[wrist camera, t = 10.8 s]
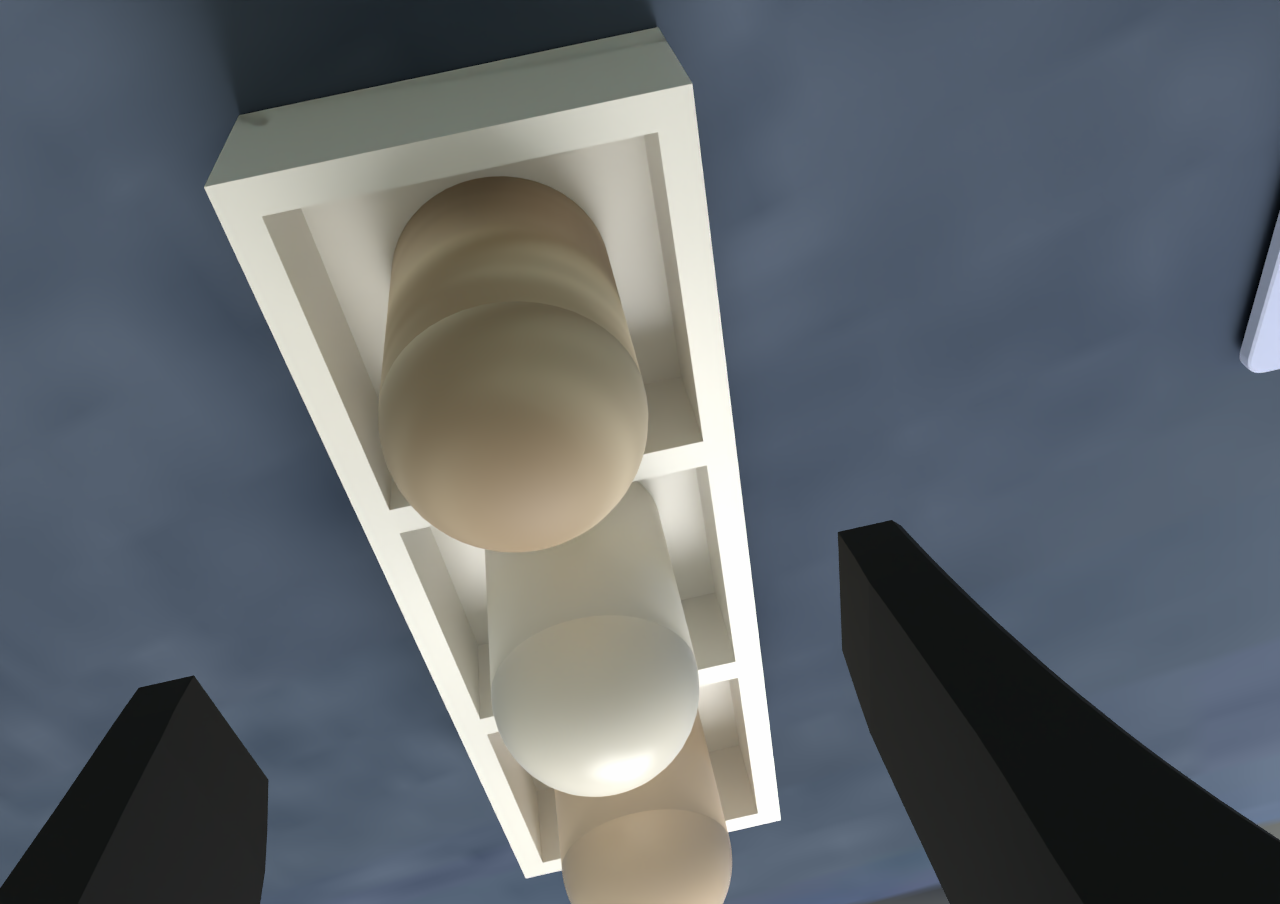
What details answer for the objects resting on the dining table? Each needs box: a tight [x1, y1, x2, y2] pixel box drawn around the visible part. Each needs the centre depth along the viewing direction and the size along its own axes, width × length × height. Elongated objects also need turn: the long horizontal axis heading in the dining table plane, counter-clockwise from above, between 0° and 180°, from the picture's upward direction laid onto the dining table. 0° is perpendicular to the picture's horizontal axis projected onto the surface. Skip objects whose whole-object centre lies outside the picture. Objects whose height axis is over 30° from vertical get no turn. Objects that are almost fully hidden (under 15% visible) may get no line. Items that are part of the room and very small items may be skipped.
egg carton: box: [204, 27, 781, 904], centre depth 20 cm, size 7×20×7 cm, turn 9°
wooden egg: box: [378, 176, 649, 553], centre depth 16 cm, size 4×4×6 cm
